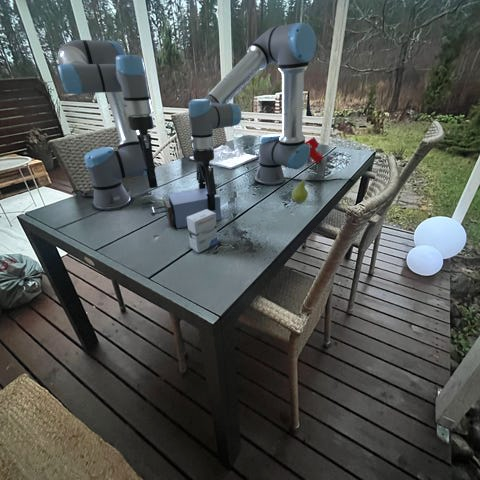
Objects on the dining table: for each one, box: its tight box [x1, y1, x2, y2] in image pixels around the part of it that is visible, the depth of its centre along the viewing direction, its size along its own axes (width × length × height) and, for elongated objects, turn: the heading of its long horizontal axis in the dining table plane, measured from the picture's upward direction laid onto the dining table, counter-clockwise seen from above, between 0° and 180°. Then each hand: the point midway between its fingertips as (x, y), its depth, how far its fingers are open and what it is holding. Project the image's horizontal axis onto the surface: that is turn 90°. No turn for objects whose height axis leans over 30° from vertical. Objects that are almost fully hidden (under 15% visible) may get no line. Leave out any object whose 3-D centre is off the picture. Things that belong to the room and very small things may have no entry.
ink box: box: [187, 209, 219, 254], centre depth 89 cm, size 8×5×12 cm, turn 134°
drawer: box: [149, 196, 175, 227], centre depth 105 cm, size 22×10×8 cm, turn 113°
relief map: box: [189, 144, 258, 170], centre depth 177 cm, size 27×35×5 cm
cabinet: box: [167, 188, 222, 229], centre depth 107 cm, size 18×11×10 cm, turn 113°
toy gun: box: [305, 136, 324, 165], centre depth 169 cm, size 18×4×15 cm
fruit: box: [291, 174, 311, 204], centre depth 118 cm, size 7×8×12 cm
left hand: (153, 187), depth 97 cm, fingers closed
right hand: (207, 204), depth 109 cm, fingers closed on cabinet, 11 cm apart
